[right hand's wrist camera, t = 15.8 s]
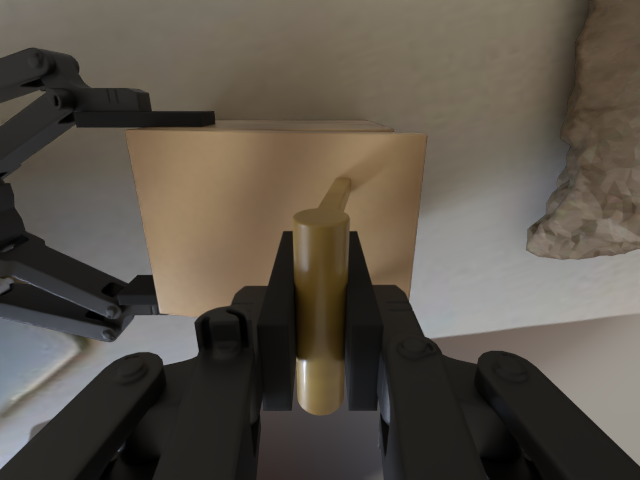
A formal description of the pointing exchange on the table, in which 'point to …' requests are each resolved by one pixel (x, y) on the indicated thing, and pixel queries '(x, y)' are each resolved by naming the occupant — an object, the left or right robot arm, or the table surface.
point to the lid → (278, 225)
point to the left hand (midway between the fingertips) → (218, 211)
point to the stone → (599, 144)
